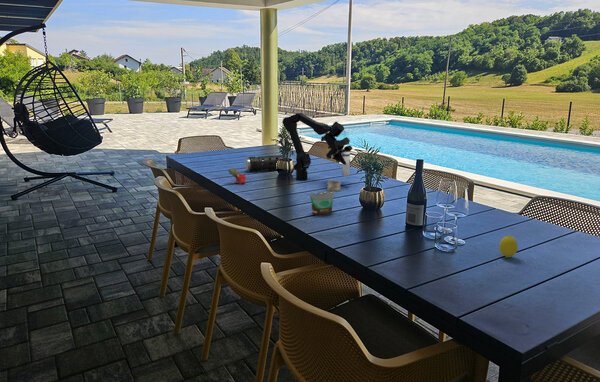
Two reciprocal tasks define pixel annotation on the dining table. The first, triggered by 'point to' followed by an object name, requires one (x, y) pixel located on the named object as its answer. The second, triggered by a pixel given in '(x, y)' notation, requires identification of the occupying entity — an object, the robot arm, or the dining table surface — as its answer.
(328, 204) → the food container
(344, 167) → the plug
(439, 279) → the dining table surface
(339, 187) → the holder
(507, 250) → the lemon
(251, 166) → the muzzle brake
